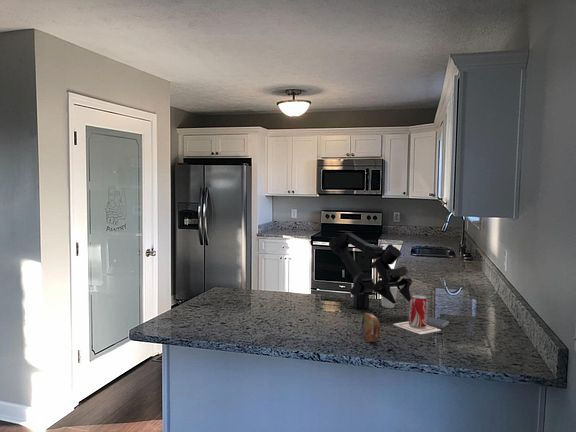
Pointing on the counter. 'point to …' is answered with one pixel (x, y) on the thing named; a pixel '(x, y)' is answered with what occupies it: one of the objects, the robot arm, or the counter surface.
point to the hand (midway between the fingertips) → (402, 302)
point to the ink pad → (437, 322)
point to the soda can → (418, 311)
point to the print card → (417, 330)
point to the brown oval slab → (370, 327)
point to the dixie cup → (386, 302)
